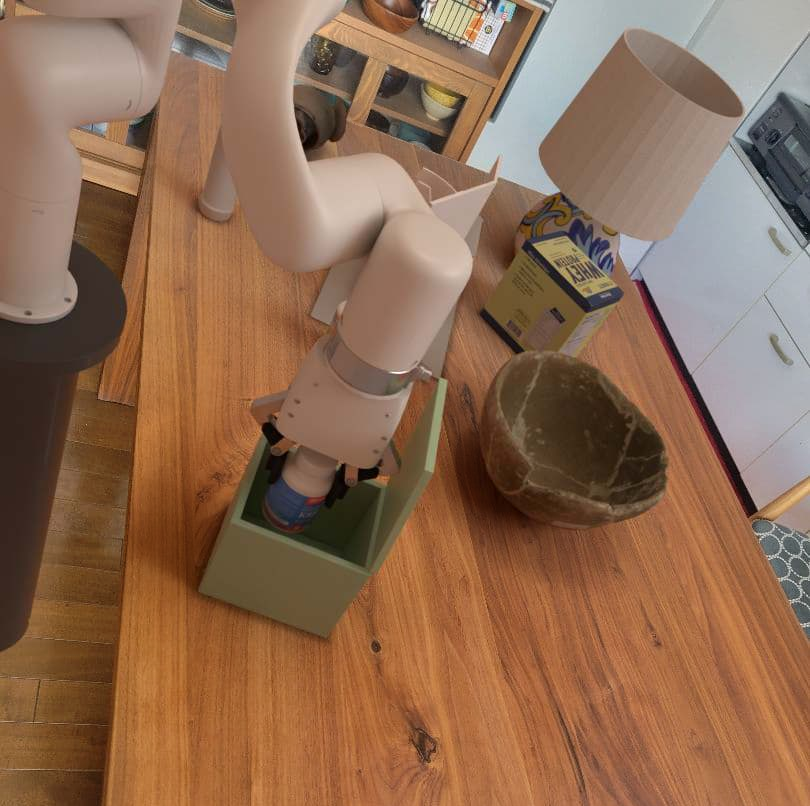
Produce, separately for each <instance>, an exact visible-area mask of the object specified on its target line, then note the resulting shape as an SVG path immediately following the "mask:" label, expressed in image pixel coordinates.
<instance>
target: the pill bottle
mask: <svg viewBox="0 0 810 806" xmlns="http://www.w3.org/2000/svg"><path fill="white" fill-rule="evenodd" d="M339 462H340V461H339V460H336V459H334V458H331V457H329V456H327V455H324V454H322V453H319V452H317V451H315V450H312V449H310V448H308V447H305V446H303V445H301V444H299V445H298V449H297V450H296V451H293V452H291V453H290V454H288V455H287V457H286V460H285V463H284V465H283V467H282V469H281V471H280V473H279V475H278V477H277V479H276V481H275V483H274V485H273V484H271V486H270V488H269V490H268V492H267V494H266V496H265V498H264V501H263V504H262V510H263V514H264V516H265V518H266V520H267V521H268V522H269V523H270V524H271V525H272V526H273V527H275V528H276V529H278V530H280V531H283V532H286V533H298V532H301V531H303V530H305V529H306V528H308V527H309V525H310V524H311V522H312V521H313V519H314V517H315V516H316V514H317V512H318V511H319V509H320V507H321V505H322V504H323V502H324V500H325V499H326V497H327V495H328V494H329V492H330V490H331V488H332V487H333V485H334V481H335V473H334V470H335V468H336V466H337V465H338V464H339Z"/></svg>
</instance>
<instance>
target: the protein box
mask: <svg viewBox="0 0 810 806" xmlns="http://www.w3.org/2000/svg"><path fill="white" fill-rule="evenodd" d="M624 295H625V292H624V291H623V289H621V287H620V286H618V285H617V284H616V283H615V281H613V280H612V279H611V278H610V277H608V276H607V275H606V274H605V273H604V272H603V271H602V270H601V269H600V268H599V267H597V266H596V265H595V264H594V263H593V262H592V261H591V260H590V259H589V258H588V257H587V256H586V255H585V254H584V253H583V252H582V251H581V250H580V249H579V248H578V247H577V246H576V245H575V244H574V243H573V242H572V241H571V240H570V239H569V238H568V237H567V236H566V235H565V234H564V233H563V232H562V231H558V232H554V233H550V234H546V235H542V236H537V237H533V238H529V239H526V241H525V242H524V244H523V246H522V247H521V249H520V250H519V252H518V253H517V255H516V257H515V256H514V258H513V260H512V261H511V262H510V264H509V266H508V268H507V269H506V270H505V272H504V274H503V276H502V277H501V279H500V280H499V282H498V284H497V285H496V287H495V288H494V290H493V291H492V293H491V295H490V297H489V298H488V300H487V301H486V303H485V304H484V305H483V307H482V309H481V311H480V312H479V315H480V317H482V318H483V319H484V320H485V321H486V322H487V323H488V324H489V325H490V327H492V329H493V330H494V331H495V332H496V333H497V334H498V335H499V336H500V337H501V338H502V339H503V340H504V341H505V343H507V345H508V346H509V347H510V348H512V350H513V351H514V352H515V353H516V355H517V354H519V353H522V352H526V351H534V350H538V351H539V352H541V351H555V352H559V353H562V354H565V355H568V356H571V357H574V358H577V357H578V356H579V354H580V353H581V352H582V351H583V349H584V348H585V346H586V345H587V344H588V342H589V341H590V340H591V339H592V338H593V336H594V335H595V333H596V332H597V331H598V329H599V328H600V327H601V326H602V324H603V323H604V321H605V320H606V319H607V317H608V316H609V315H610V314H611V313H612V312H613V310H614V309H615V307H616V306H617V305H618V304H619V302H620V301H621V300H622V298H623V297H624Z"/></svg>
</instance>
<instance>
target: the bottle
mask: <svg viewBox="0 0 810 806" xmlns="http://www.w3.org/2000/svg"><path fill="white" fill-rule="evenodd" d="M218 128H219V129H218V133H217V136H216V141H215V144H214V147H213V148H214V149H213V152H212V156H211V160H210V163H209V167H208V171H207V174H206V178H205V183H204V186H203V189H202V191H201V193H200V194H199V197H198V203H197V205H198V210H199V211H200V213H201V214H202V215H203V216H204V217H205V218H207V219H209V220H211V221H214V222H217V223H222V222H223V223H224V222H227V221H228V220H229V219H230V218H231V216H232V214H233V212H234V210H235V201H236V199H237V193H236V190H235V187H234V184H233V181H232V178H231V174H230V171H229V168H228V165H227V161H226V157H225V153H224V149H223V142H222V134H221V124H220V125H219V127H218Z"/></svg>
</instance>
